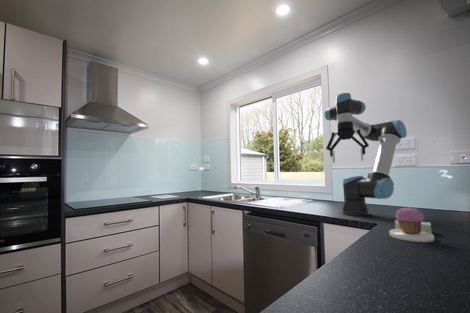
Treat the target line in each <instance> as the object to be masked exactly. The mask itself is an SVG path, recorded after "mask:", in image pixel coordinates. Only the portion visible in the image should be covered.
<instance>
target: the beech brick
mask: <svg viewBox="0 0 470 313" xmlns="http://www.w3.org/2000/svg"><path fill="white" fill-rule="evenodd" d="M394 229H401V228H400V225H399V222H398V220H397V219H395V220H394Z"/></svg>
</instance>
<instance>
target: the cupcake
mask: <svg viewBox="0 0 470 313" xmlns="http://www.w3.org/2000/svg"><path fill="white" fill-rule="evenodd" d="M395 220H398V222H399V225H400V228H401V229H402V230H403V232H408V233H410V234H419V233H421V222H424V220H425V216H424V213H422V212H421V211H420V210H419V209H418V208H412V207H402V208H400V209H397V211H396V213H395Z"/></svg>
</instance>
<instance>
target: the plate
mask: <svg viewBox="0 0 470 313" xmlns="http://www.w3.org/2000/svg"><path fill="white" fill-rule="evenodd" d="M388 233H389V235H388V236H390V237H391V238H394V239H395V240H396V239H397V240H401V241H404V242H405V241H406V242H413V243H431V242H434V241H435V235H434V234H433V233H432V234H431V233H428V232H424V231H421V233H419V234H410V233H408V232H403V230H402V229H396V228H392V229H389V231H388Z"/></svg>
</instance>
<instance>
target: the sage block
mask: <svg viewBox="0 0 470 313" xmlns="http://www.w3.org/2000/svg"><path fill="white" fill-rule="evenodd" d="M421 231H424V232H428V233H431V234H433V233H432V232H433V231H432V224H431V222H428V221H427V222H425V221H421Z"/></svg>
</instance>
